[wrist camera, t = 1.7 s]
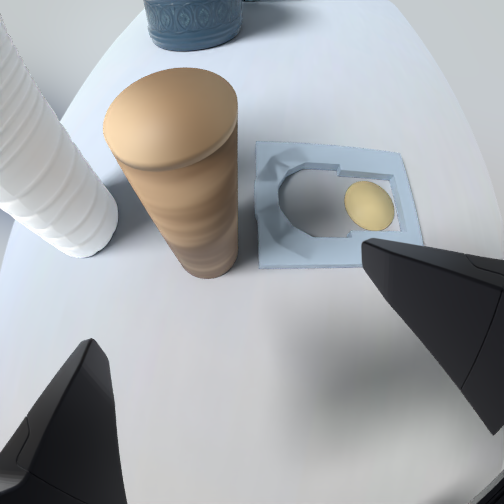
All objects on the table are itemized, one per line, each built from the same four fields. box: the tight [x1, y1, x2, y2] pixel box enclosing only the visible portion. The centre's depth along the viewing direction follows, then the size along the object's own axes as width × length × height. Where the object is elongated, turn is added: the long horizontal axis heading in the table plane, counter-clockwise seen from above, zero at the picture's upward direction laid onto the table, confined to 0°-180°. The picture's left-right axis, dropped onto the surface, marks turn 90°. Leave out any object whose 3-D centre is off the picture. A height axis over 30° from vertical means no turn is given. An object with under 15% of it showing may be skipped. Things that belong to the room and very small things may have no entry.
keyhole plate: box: [254, 141, 423, 269], centre depth 24 cm, size 14×11×1 cm
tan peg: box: [103, 68, 238, 279], centre depth 16 cm, size 5×5×14 cm
